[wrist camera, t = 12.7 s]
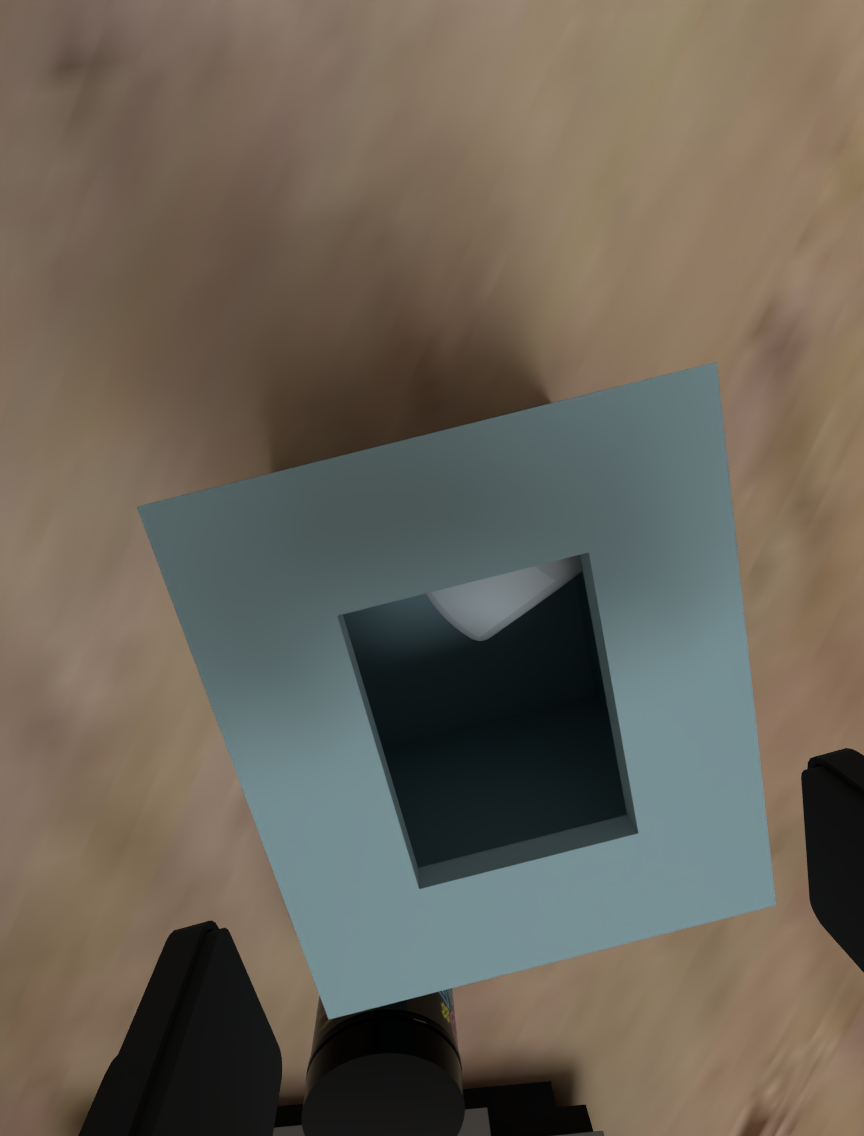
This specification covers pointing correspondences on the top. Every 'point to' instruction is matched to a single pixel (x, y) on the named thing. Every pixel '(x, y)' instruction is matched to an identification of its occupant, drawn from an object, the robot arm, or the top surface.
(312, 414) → the top surface
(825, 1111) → the top surface
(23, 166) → the top surface
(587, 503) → the drop box
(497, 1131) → the game console
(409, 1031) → the supplement container
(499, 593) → the eye dropper bottle
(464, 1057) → the top surface
